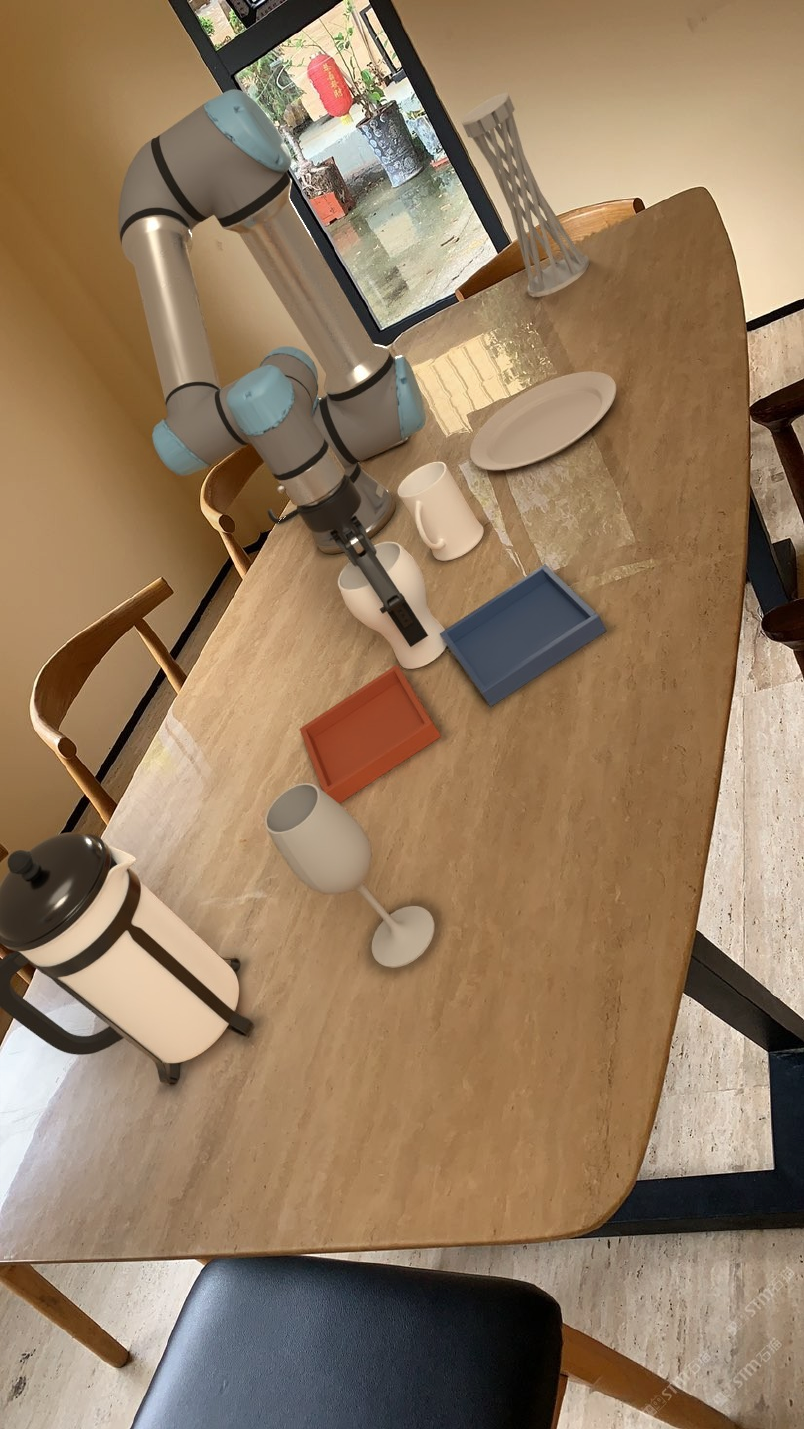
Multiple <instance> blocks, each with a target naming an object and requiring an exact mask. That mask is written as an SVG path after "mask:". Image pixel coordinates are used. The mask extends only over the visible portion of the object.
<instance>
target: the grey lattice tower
mask: <svg viewBox="0 0 804 1429" xmlns="http://www.w3.org/2000/svg"><path fill="white" fill-rule="evenodd" d="M514 106H515V105H514V104H513V102H512V99H511V97H510V95H509V92H502V93H499V94H496V95H494V96H492V97H490V98H488V99H487V100H484V101H483V102H481V103H480V104H479V105H477V106H476V107H475V108H473V109H471V110H470V111H469V112H468V113H467V114H465V115H464V116H463V117H462V119H461V124H462V127H463V129H464V131H465V134H466V135H467V138H469V139H472V140H473V141H474V144H475V145H476V147H477V148H478V149H479V151H480V153H481V154H482V155H483V158H484V159H485V160H486V162H487V164H488V165H489V166H490V169H492V173H493V174H494V177H495V179H496V181H497V183H498V186H499V188H500V190H501V193H502V195H503V197H504V199H505V202H506V204H507V206H508V208H509V211H510V214H511V218H512V222H513V227H514V231H515V234H516V237H517V241H518V245H519V249H520V253H521V257H522V260H523V264H524V268H525V273H526V275H527V278H528V279H527V281H528V284H527V288H526V291H527V293H528V296H530V297H532V298H542V297H545V296H548V295H551V294H554V293H556V292H558V291H560V290H563V289H565V288H567V287H568V286H569V285H571V284H572V283H574V282H576V281H577V280H578V279H579V278H581V277H582V275H584V274H585V273H586V272H587V269H588V268H589V265H590V263H591V261H590V258H589V256H588V255H586V254H583V253H582V252H581V251H580V249H579V248H578V247H577V246H576V245H577V244H575V243H574V242H573V240H572V238H571V237H570V236H569V234H568V232H567V231H566V229H565V228H564V226H563V224H562V223H561V222H560V220H559V218H558V217H557V215H556V214H555V212H554V211H553V209H552V207H551V206H550V204H549V202H548V201H547V199H546V197H545V196H544V195H543V193H542V192H541V189H540V187H539V184H538V182H537V179H536V178H535V176H534V173H533V171H532V169H531V167H530V164H529V162H528V160H527V157H526V156H525V151H524V150H523V149H524V148H523V145H522V142H521V141H522V140H521V138H520V135H519V134H520V133H519V131H518V128H517V124H516V121H515V117H514V112H515V111H516V110H515V107H514ZM495 131H496V132H495ZM496 133H497V135H498V136H499V137H500V139H501V141H502V142H503V148H504V150H503V148H502V147H501V146H500V145H499V143H498V140H497V135H496ZM509 138H510V139H509ZM510 140H511V143H510ZM488 143H490V145H491V146H492V148H493V150H494V151H493V150H492V148H490V145H489V144H488ZM513 160H514V161H515V164H514V162H513ZM504 163H505V164H506V165H507V168H506V167H505V166H504ZM515 165H516V166H515ZM507 169H508V170H507ZM516 179H517V180H518V182H519V184H518V182H517V180H516ZM509 184H510V185H509ZM510 186H511V188H510ZM528 194H529V195H530V198H531V199H530V198H529V197H528V196H529V195H528ZM520 199H521V200H522V202H523V207H522V205H521V203H520V202H521V201H520ZM541 210H542V212H541ZM542 213H543V214H544V216H543V215H542ZM532 214H533V215H534V216H535V218H536V219H537V221H538V225H539V229H540V232H541V235H542V236H541V235H540V233H539V231H538V230H537V228H536V226H535V225H534V223H533V217H532ZM524 221H525V223H526V225H527V229H528V233H527V231H526V230H525V225H524ZM547 233H548V234H549V236H550V237H551V238H552V239H553V241H554V242H555V244H556V245H557V246H558V248H559V250H560V253H561V255H562V257H563V259H560V260H558V261H557V260H556V258H555V256H554V254H553V252H552V248H551V244H550V241H549V238H548V234H547ZM528 234H529V236H528ZM562 238H563V239H564V241H565V243H566V244H567V246H568V247H569V248H568V247H567V246H566V245H565V243H564V241H563V239H562ZM537 241H538V243H539V244H540V246H541V247H542V250H543V251H544V252H545V253H546V255H547V257H548V259H549V263H550V265H548V266H547V267H546V268H544V269H542V265H541V260H540V254H539V249H538V244H537ZM570 250H571V251H570ZM531 261H532V263H533V266H534V268H535V272H536V275H535V276H534V275H533V271H532V270H533V269H532V267H531V266H532V265H531ZM533 276H534V277H533Z"/></svg>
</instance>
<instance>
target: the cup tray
mask: <svg viewBox="0 0 804 1429" xmlns="http://www.w3.org/2000/svg"><path fill="white" fill-rule="evenodd" d="M299 731H300V735H301V737H302V740H303V742H304V744H305V747H306V750H307V753H308V755H309V758H310V760H311V763H312V766H313V769H314V771H315V774H316V777H317V779H318V782H319V784H320V787H321V790H322V791H323V792H325V793H326V794H327V795H329V796H330V797H331V798H332V799H334V800H335V801H336V802H337V803H338V804H341V803H343V802H344V801H345V800H347V799H349V798H350V797H351V796H353V795H354V794H356V793H357V792H359V791H361V790H362V789H364V788H365V787H367V786H368V785H370V784H371V783H373V782H374V781H376V780H378V779H379V778H380V777H382V776H383V775H385V774H387V773H388V772H389V771H391V770H392V769H394V768H396V767H397V766H399V765H401V764H402V763H403V762H405V761H407V760H408V759H409V758H412V757H413V756H414V755H416V754H417V753H418V752H420V751H421V750H424V749H425V748H426V747H427V746H429V745H431V744H433V743H434V742H435V741H437V740H438V739H440V738H442V735H441V733H440V731H439V729H437V727H436V725H435V723H434V722H433V720H432V718H431V716H430V715H429V713H428V712H427V709H426V708H425V706H424V704H423V703H422V701H421V700H420V698H419V696H418V695H417V693H416V691H415V690H414V688H413V686H412V684H411V683H410V681H409V680H408V678H407V676H406V675H405V673H404V672H403V671H402V669H401V668H400V666H399V665H398V664H395V665H394V666H392V667H391V668H389V669H388V670H385V672H383V673H381V674H380V675H378V676H377V677H375V678H374V679H373V680H371V681H370V682H368V683H366V684H365V685H364V686H362V687H360V688H359V689H357V690H356V691H354V692H353V693H351V694H350V695H349V696H347V697H345V698H344V699H343V700H341V701H339V702H338V703H337V704H335V705H333V706H331V707H330V708H329V709H327V710H325V711H324V712H323V713H322V714H320V715H318V716H317V717H315V718H314V719H312V720H311V721H309V722H307V723H306V724H305V725H303V726H302V727H300V728H299Z"/></svg>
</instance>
